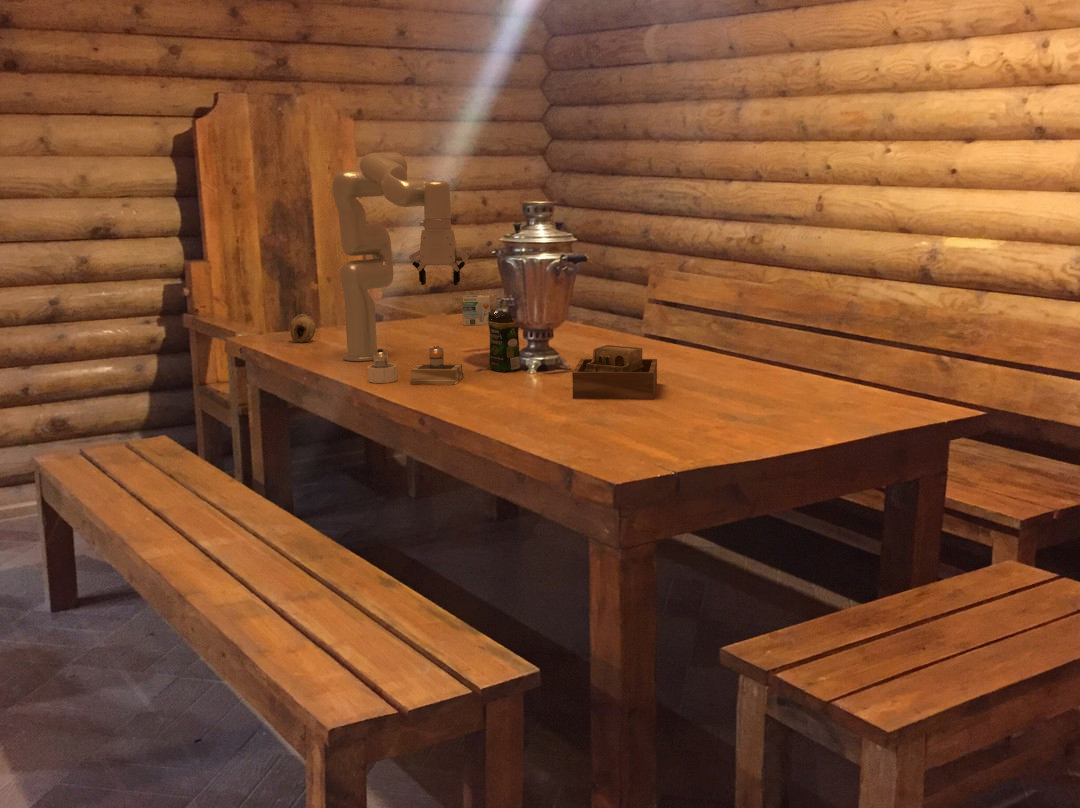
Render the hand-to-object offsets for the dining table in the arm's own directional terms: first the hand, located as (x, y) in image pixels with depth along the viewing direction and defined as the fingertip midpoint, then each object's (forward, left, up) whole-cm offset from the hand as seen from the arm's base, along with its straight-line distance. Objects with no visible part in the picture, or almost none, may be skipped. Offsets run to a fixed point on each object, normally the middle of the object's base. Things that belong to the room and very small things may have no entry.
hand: (439, 284), depth 334 cm
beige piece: (+6, -17, -27) cm, 33 cm away
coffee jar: (-12, +16, -28) cm, 34 cm away
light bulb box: (-103, -11, -28) cm, 107 cm away
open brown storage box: (+17, +52, -27) cm, 61 cm away
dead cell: (+6, -17, -27) cm, 32 cm away
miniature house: (+16, +51, -28) cm, 60 cm away
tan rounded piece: (-61, -65, -28) cm, 93 cm away
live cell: (+5, -1, -26) cm, 26 cm away
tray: (+5, -1, -27) cm, 28 cm away
